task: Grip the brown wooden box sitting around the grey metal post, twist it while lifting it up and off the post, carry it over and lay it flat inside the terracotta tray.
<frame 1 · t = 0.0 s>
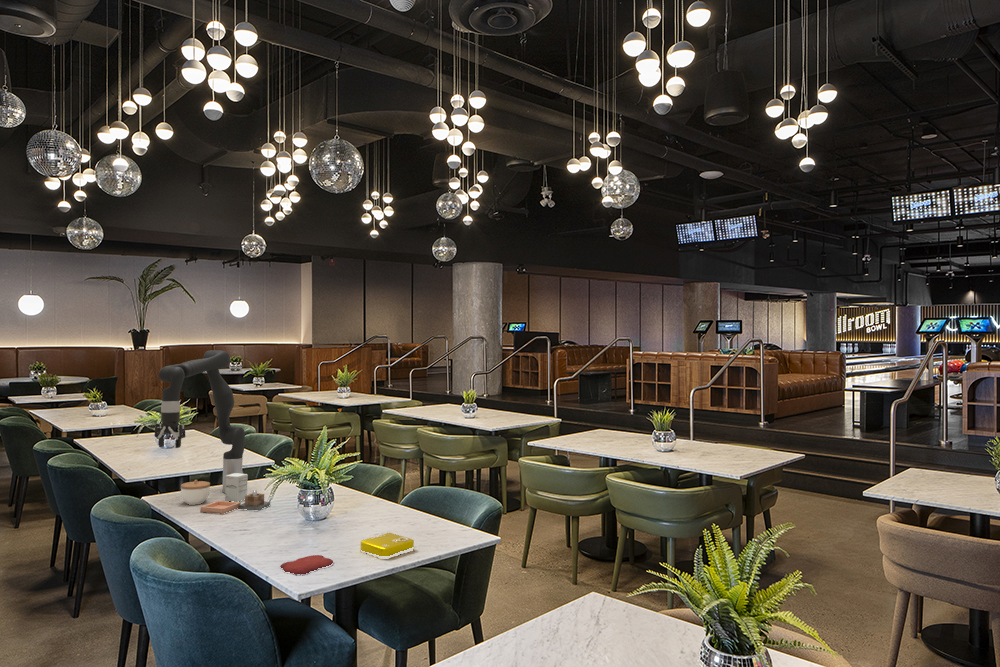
hand: (169, 447, 282), 29 cm above the table, tool pointing down, fingers open, 8 cm apart
brown wooden box: (254, 503, 292), point 2 cm above the table, touching post stand
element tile: (387, 552, 233), on the table
lidded bowl: (195, 503, 300), on the table
terracotta tray: (220, 510, 287), on the table
post stand: (254, 507, 292), on the table
patty: (307, 567, 216), on the table
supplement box: (236, 500, 306), on the table
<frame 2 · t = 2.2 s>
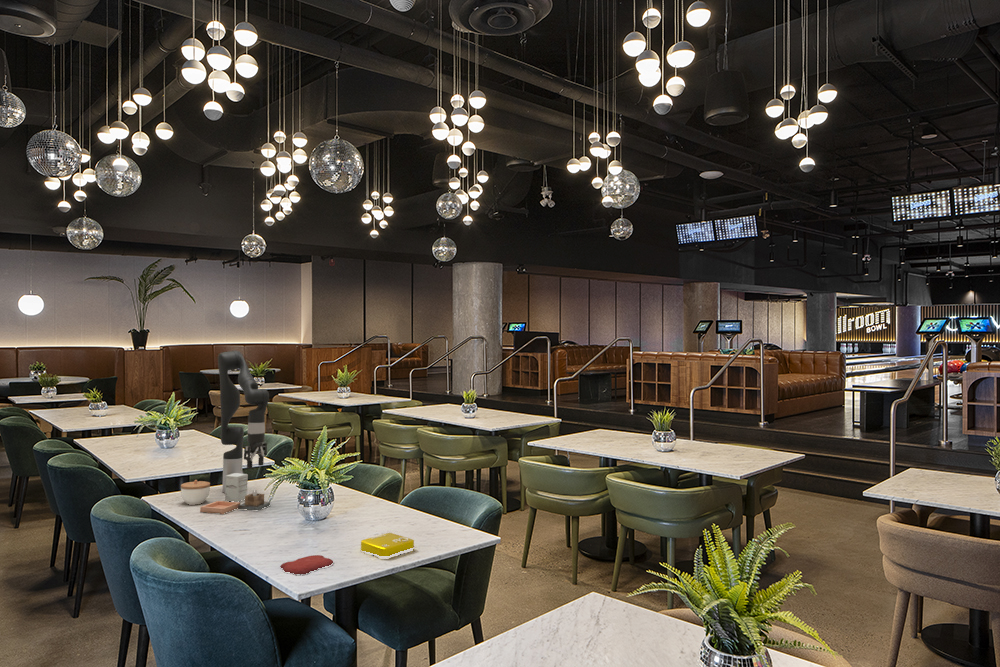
hand: (255, 466, 293), 19 cm above the table, tool pointing down, fingers open, 8 cm apart
nothing on the table moved.
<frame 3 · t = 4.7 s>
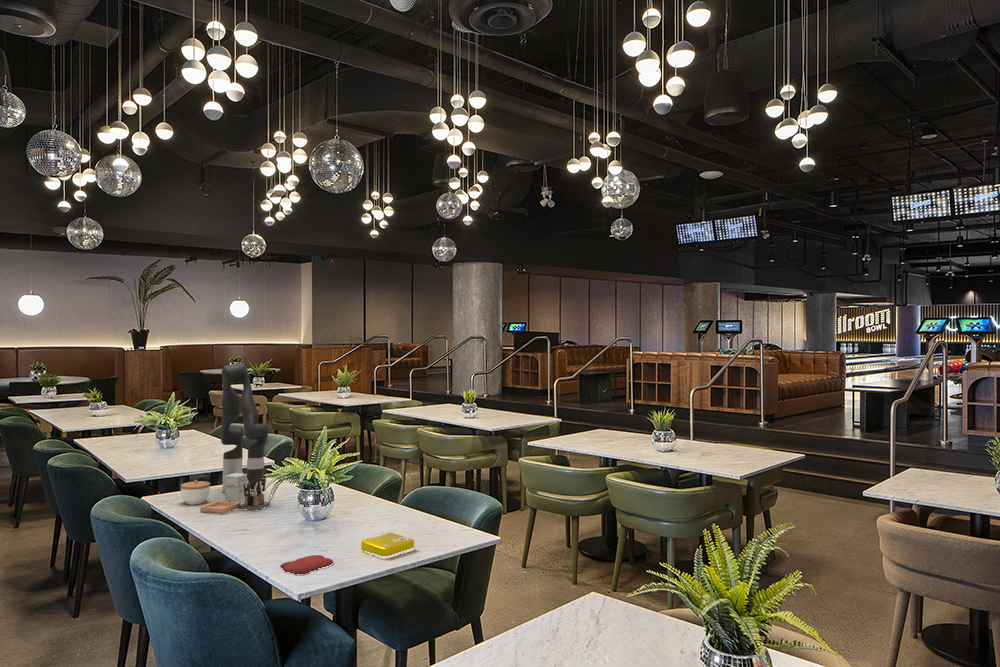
hand: (254, 503, 292), 2 cm above the table, tool pointing down, fingers closed on brown wooden box, 6 cm apart
brown wooden box: (254, 503, 292), point 2 cm above the table, touching gripper, post stand
everything else where it was.
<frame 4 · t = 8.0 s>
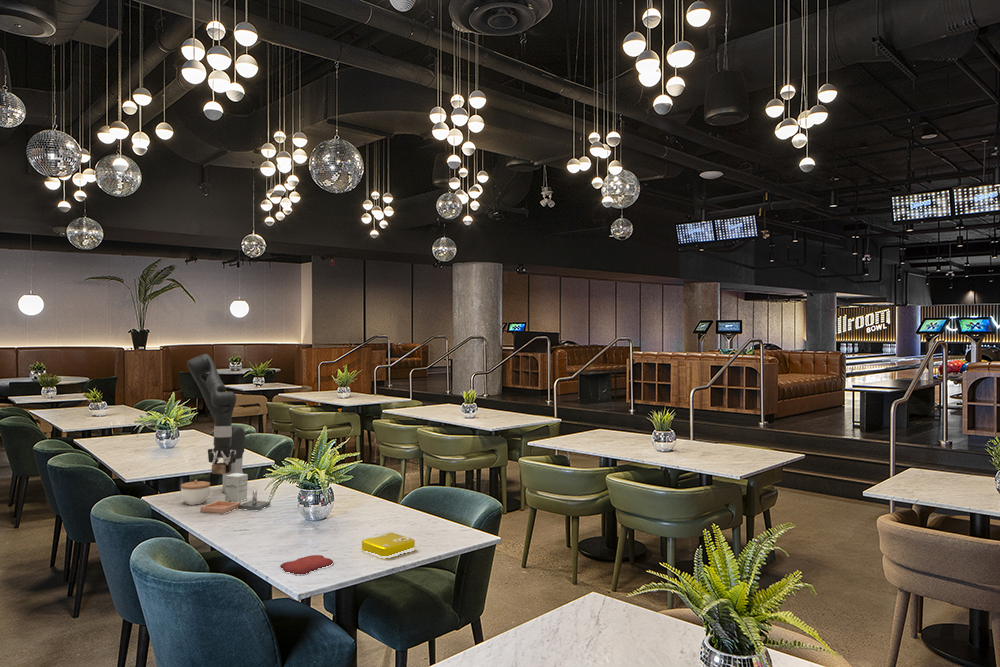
hand: (221, 472, 288), 17 cm above the table, tool pointing down, fingers closed on brown wooden box, 6 cm apart
brown wooden box: (221, 472, 288), point 17 cm above the table, touching gripper
everything else where it was.
when the fingers open (3 cm above the table, at t = 11.5 s): brown wooden box drops 2 cm, resting on terracotta tray.
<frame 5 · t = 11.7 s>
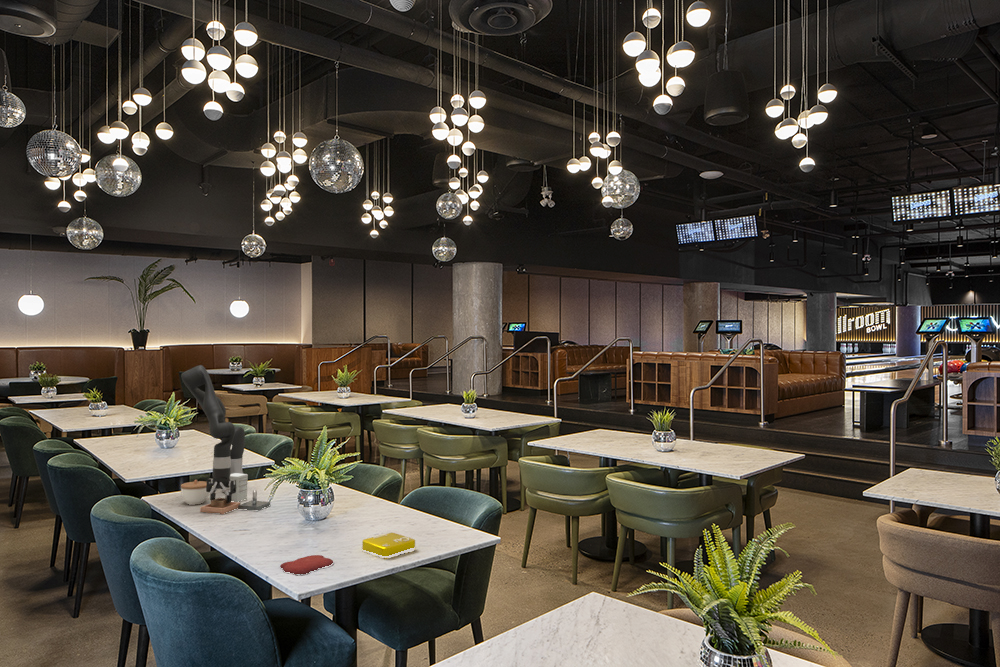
hand: (220, 502, 287), 4 cm above the table, tool pointing down, fingers open, 7 cm apart
brown wooden box: (220, 508, 287), point 1 cm above the table, touching terracotta tray
everything else where it was.
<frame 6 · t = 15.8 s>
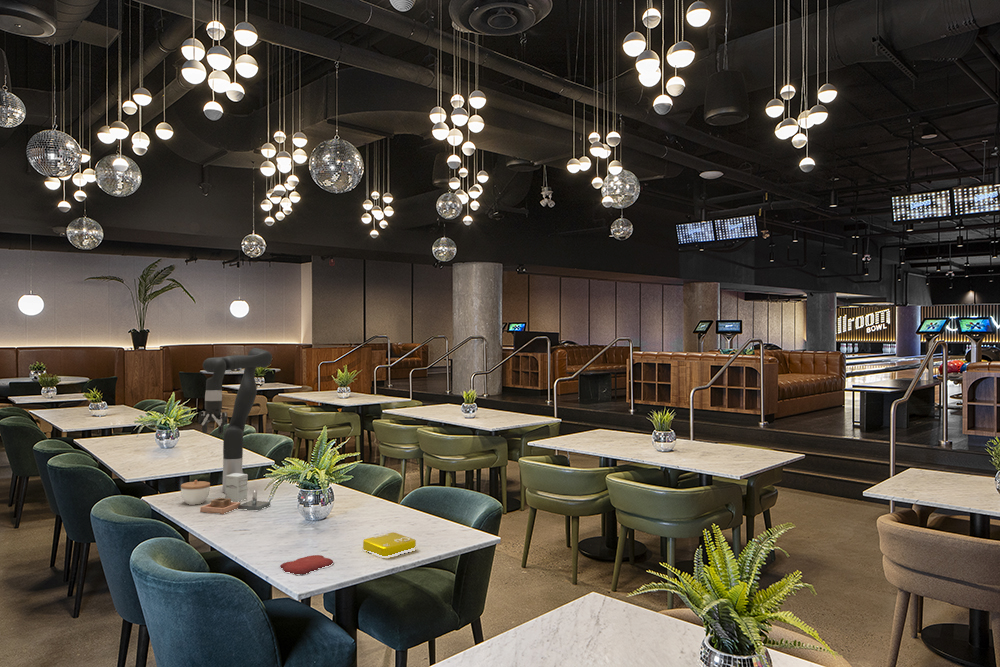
hand: (212, 433, 301), 33 cm above the table, tool pointing down, fingers open, 8 cm apart
nothing on the table moved.
at the end: brown wooden box inside the target area on the terracotta tray (0.0 cm from its centre), point 0.8 cm above the terracotta tray's base; brown wooden box tilted 0°; the gripper is holding nothing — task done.
